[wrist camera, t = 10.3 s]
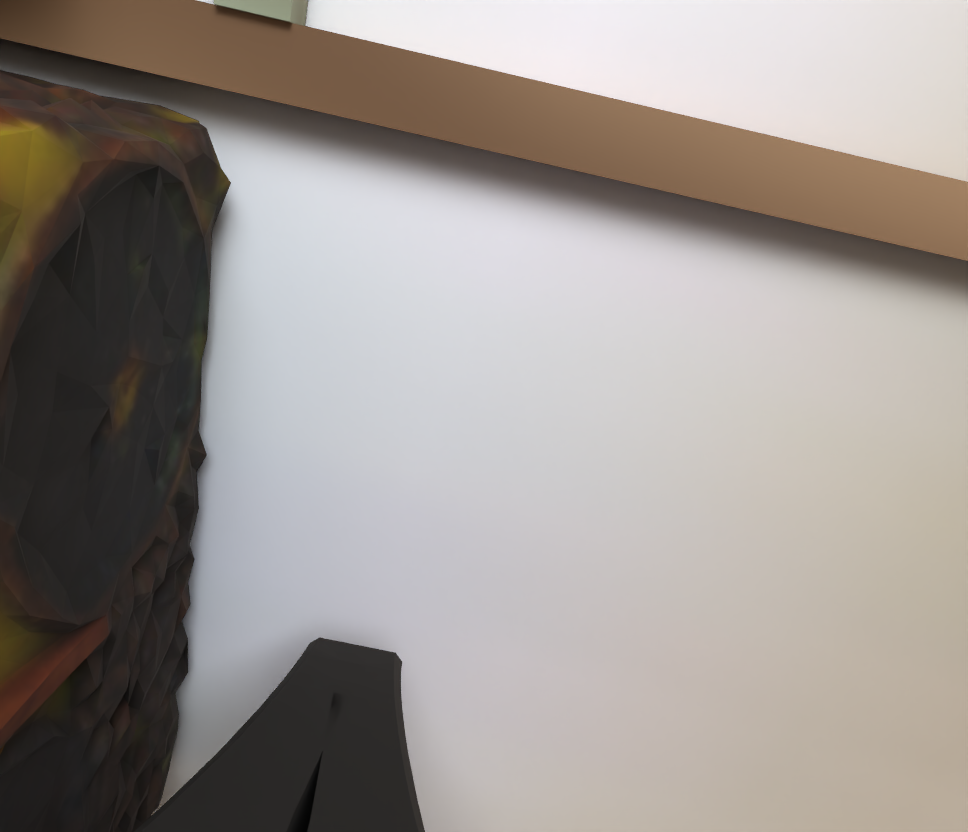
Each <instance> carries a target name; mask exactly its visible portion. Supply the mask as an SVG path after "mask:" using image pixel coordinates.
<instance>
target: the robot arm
mask: <svg viewBox="0 0 968 832" xmlns="http://www.w3.org/2000/svg"><path fill="white" fill-rule="evenodd" d="M401 666H402V661H401V660H400V658H399V657H398V656H397V654H396V653H394V652H389V651H384V650H379V649H374V648H369V647H364V646H359V645H354V644H349V643H344V642H339V641H334V640H329V639H324V638H318V639H317V640H315V641H313V642H311V643H310V644H309V645H308V647H307V648H306V650H305V651H304V653H303V654H302V656H301V657H300V659H299V660H298V661H297V663H296V664H295V665H294V667H293V668H292V669H291V671H290V672H289V673H288V675H287V676H286V677H285V678H284V679H283V681H282V682H281V683H280V684H279V686H278V687H277V688H276V689H275V690H274V692H273V693H272V694H271V695H270V696H269V697H268V699H267V700H266V701H265V702H264V703H263V704H262V706H261V707H260V708H259V709H258V710H257V711H256V712H255V713H254V714H253V715H252V717H251V718H250V719H249V720H248V721H247V722H246V723H245V724H244V725H243V726H242V727H241V728H240V730H239V731H238V732H237V733H236V734H235V735H234V736H233V737H232V738H231V739H230V740H229V741H228V742H227V744H226V745H225V746H224V747H223V748H222V749H221V750H220V751H219V752H218V753H217V754H216V755H215V756H214V757H213V758H212V759H211V760H210V761H209V762H208V763H207V764H206V765H205V766H204V767H203V768H202V769H201V770H199V771H198V772H197V773H196V774H195V775H194V776H193V777H192V778H191V779H190V780H189V781H188V782H187V783H186V784H185V785H184V786H183V787H182V788H181V789H180V790H179V791H178V792H177V793H176V794H175V795H173V796H172V797H171V798H170V799H169V800H168V801H167V802H166V803H165V804H164V805H163V806H162V807H161V808H160V809H159V810H157V811H156V812H155V813H154V814H153V815H152V816H151V817H150V818H149V819H147V820H146V821H145V822H144V823H143V824H142V825H141V826H140V827H138V828H137V829H136V830H135V831H134V832H425V830H424V826H423V822H422V818H421V814H420V809H419V805H418V801H417V796H416V791H415V786H414V781H413V776H412V771H411V766H410V761H409V756H408V750H407V743H406V737H405V729H404V721H403V712H402V701H401Z"/></svg>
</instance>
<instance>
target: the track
mask: <svg viewBox="0 0 968 832" xmlns="http://www.w3.org/2000/svg"><path fill="white" fill-rule="evenodd" d="M214 4H215V5H213V4H209V3H205V2H201V1H196V0H0V38H1V39H5V40H10V41H14V42H18V43H23V44H27V45H31V46H36V47H40V48H44V49H49V50H53V51H57V52H62V53H66V54H71V55H75V56H79V57H84V58H88V59H92V60H97V61H101V62H105V63H110V64H114V65H118V66H123V67H127V68H131V69H136V70H140V71H144V72H149V73H153V74H157V75H162V76H166V77H170V78H175V79H179V80H184V81H188V82H192V83H197V84H201V85H205V86H210V87H214V88H218V89H223V90H227V91H231V92H236V93H240V94H244V95H249V96H253V97H257V98H262V99H266V100H270V101H275V102H279V103H284V104H288V105H292V106H297V107H301V108H305V109H310V110H314V111H318V112H323V113H327V114H331V115H336V116H340V117H344V118H349V119H353V120H357V121H362V122H366V123H370V124H375V125H379V126H383V127H388V128H392V129H397V130H401V131H405V132H410V133H414V134H418V135H423V136H427V137H431V138H436V139H440V140H444V141H449V142H453V143H457V144H462V145H466V146H470V147H475V148H479V149H483V150H488V151H492V152H497V153H501V154H505V155H510V156H514V157H518V158H523V159H527V160H531V161H536V162H540V163H544V164H549V165H553V166H557V167H562V168H566V169H570V170H575V171H579V172H583V173H588V174H592V175H596V176H601V177H605V178H610V179H614V180H618V181H623V182H627V183H631V184H636V185H640V186H644V187H649V188H653V189H657V190H662V191H666V192H670V193H675V194H679V195H683V196H688V197H692V198H696V199H701V200H705V201H710V202H714V203H718V204H723V205H727V206H731V207H736V208H740V209H744V210H749V211H753V212H757V213H762V214H766V215H770V216H775V217H779V218H783V219H788V220H792V221H796V222H801V223H805V224H809V225H814V226H818V227H823V228H827V229H831V230H836V231H840V232H844V233H849V234H853V235H857V236H862V237H866V238H870V239H875V240H879V241H883V242H888V243H892V244H896V245H901V246H905V247H909V248H914V249H918V250H923V251H927V252H931V253H936V254H940V255H944V256H949V257H953V258H957V259H962V260H966V261H968V182H965V181H961V180H957V179H953V178H948V177H944V176H940V175H936V174H931V173H927V172H923V171H919V170H914V169H910V168H906V167H902V166H897V165H893V164H889V163H885V162H880V161H876V160H872V159H868V158H863V157H859V156H855V155H851V154H846V153H842V152H838V151H834V150H829V149H825V148H821V147H817V146H812V145H808V144H804V143H800V142H795V141H791V140H787V139H783V138H778V137H774V136H770V135H766V134H761V133H757V132H753V131H749V130H744V129H740V128H736V127H732V126H727V125H723V124H719V123H715V122H710V121H706V120H702V119H698V118H693V117H689V116H685V115H681V114H676V113H672V112H668V111H664V110H659V109H655V108H651V107H647V106H642V105H638V104H634V103H630V102H625V101H621V100H617V99H613V98H608V97H604V96H600V95H596V94H591V93H587V92H583V91H579V90H574V89H570V88H566V87H562V86H557V85H553V84H549V83H545V82H540V81H536V80H532V79H528V78H523V77H519V76H515V75H511V74H506V73H502V72H498V71H494V70H489V69H485V68H481V67H477V66H472V65H468V64H464V63H460V62H456V61H451V60H447V59H443V58H439V57H434V56H430V55H426V54H422V53H417V52H413V51H409V50H405V49H400V48H396V47H392V46H388V45H383V44H379V43H375V42H371V41H366V40H362V39H358V38H354V37H349V36H345V35H341V34H337V33H332V32H328V31H324V30H320V29H315V28H311V27H307V26H305V21H306V12H307V4H308V0H214Z"/></svg>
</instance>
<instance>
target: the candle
mask: <svg viewBox="0 0 968 832" xmlns="http://www.w3.org/2000/svg"><path fill="white" fill-rule="evenodd" d="M230 184H231V182H230V181H229V179H228V178H227V176H226V175H225V174H224V172H223V171H222V169H221V167H220V164H219V161H218V159H217V156H216V153H215V151H214V148H213V145H212V142H211V140H210V137H209V134H208V132H207V129H206V128H205V127H204V126H202V125H201V124H200V123H199V121H198V120H195V119H193V118H190V117H187V116H185V115H182V114H180V113H177V112H175V111H172V110H170V109H167V108H165V107H162V106H159V105H153V104H147V103H141V102H135V101H129V100H123V99H117V98H111V97H105V96H99V95H96V94H93V93H90V92H88V91H85V90H81V89H77V88H72V87H67V86H63V85H58V84H54V83H50V82H46V81H43V80H39V79H35V78H32V77H28V76H23V75H19V74H14V73H10V72H5V71H1V70H0V832H134V831H135V830H136V829H137V828H138V827H140V826H141V825H142V824H143V823H144V822H145V821H146V820H147V819H149V818H150V817H151V814H152V812H153V811H154V810H156V809H157V808H158V806H159V803H160V800H161V798H162V794H163V790H164V786H165V782H166V778H167V774H168V770H169V766H170V761H171V756H172V751H173V747H174V743H175V738H176V734H177V730H178V718H179V713H178V707H177V701H176V695H175V693H176V691H177V689H178V688H179V686H180V685H181V683H182V681H183V680H184V678H185V676H186V675H187V673H188V639H187V636H186V633H185V630H184V627H183V624H182V619H183V617H184V615H185V614H186V612H187V610H188V608H189V606H190V596H189V587H188V580H189V577H190V573H191V569H192V566H193V562H194V557H193V554H192V551H191V547H190V541H191V537H192V533H193V529H194V525H195V521H196V517H197V513H198V509H199V506H198V490H197V474H196V472H197V471H198V469H199V467H200V466H201V464H202V462H203V460H204V459H205V457H206V452H205V449H204V446H203V443H202V440H201V437H200V434H199V431H198V429H199V416H200V402H201V360H202V356H203V352H204V348H205V344H206V340H207V329H208V311H209V294H210V271H211V239H212V228H213V225H214V223H215V221H216V218H217V216H218V213H219V211H220V209H221V206H222V204H223V201H224V199H225V196H226V194H227V191H228V189H229V186H230Z"/></svg>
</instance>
